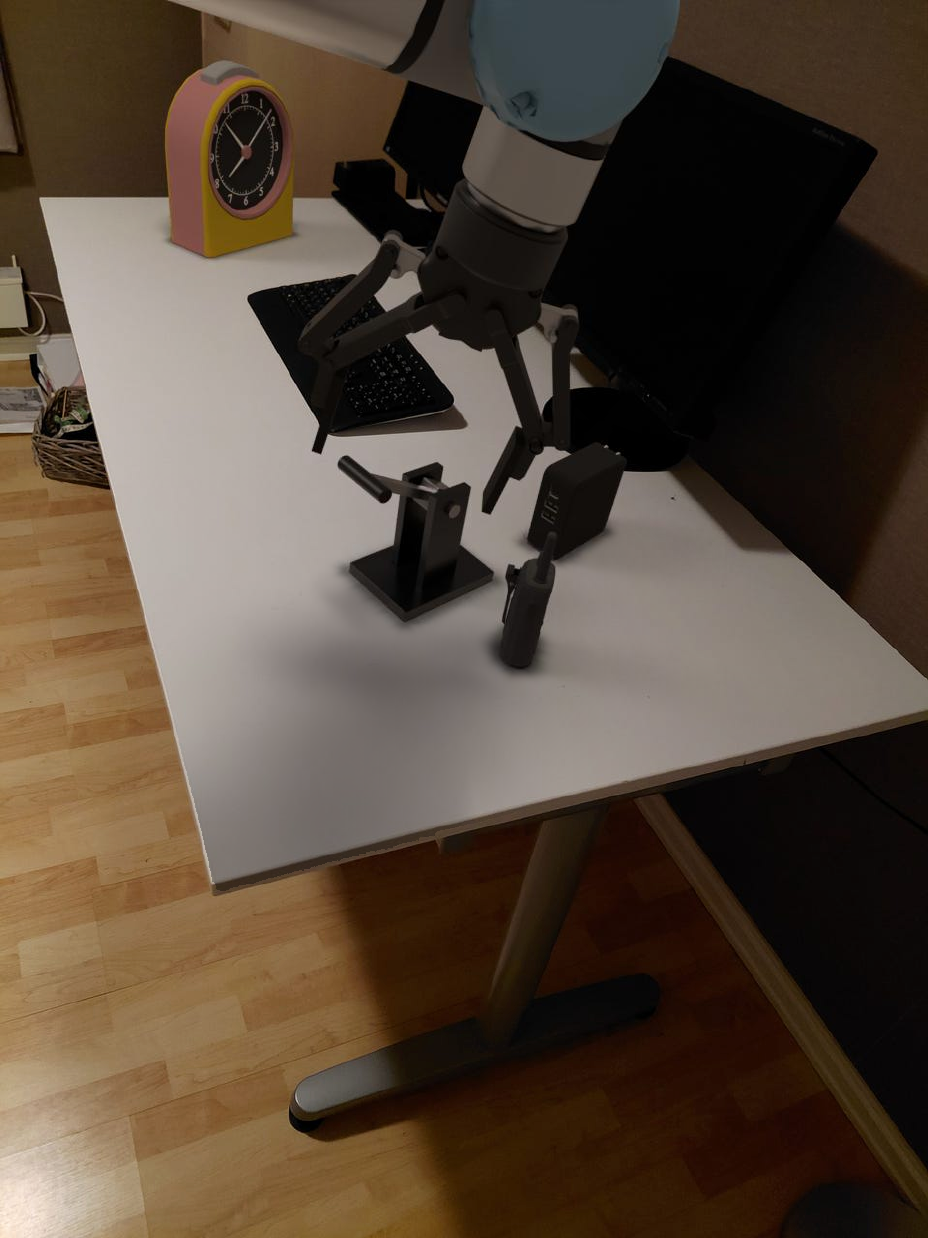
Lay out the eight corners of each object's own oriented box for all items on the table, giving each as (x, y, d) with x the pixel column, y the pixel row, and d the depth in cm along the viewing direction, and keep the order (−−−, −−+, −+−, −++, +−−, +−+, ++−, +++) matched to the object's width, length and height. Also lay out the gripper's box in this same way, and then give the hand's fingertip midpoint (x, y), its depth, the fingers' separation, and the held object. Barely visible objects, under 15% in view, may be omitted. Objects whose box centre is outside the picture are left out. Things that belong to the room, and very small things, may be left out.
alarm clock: (208, 258, 140) (200, 73, 123) (169, 240, 143) (156, 58, 126) (294, 234, 154) (297, 66, 137) (257, 219, 157) (255, 52, 140)
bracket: (404, 622, 82) (418, 523, 74) (348, 571, 86) (357, 473, 78) (492, 580, 89) (514, 486, 81) (437, 535, 93) (452, 442, 85)
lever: (373, 507, 71) (386, 482, 70) (332, 472, 74) (344, 448, 73) (457, 524, 81) (469, 502, 80) (417, 493, 84) (429, 471, 83)
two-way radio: (530, 674, 79) (567, 548, 69) (484, 663, 79) (515, 535, 69) (536, 635, 83) (573, 511, 73) (492, 625, 83) (523, 499, 74)
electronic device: (525, 542, 95) (544, 466, 88) (577, 512, 101) (599, 439, 94) (553, 561, 93) (575, 485, 86) (605, 530, 99) (629, 456, 92)
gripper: (688, 259, 56) (551, 499, 70) (328, 97, 51) (257, 391, 65) (705, 306, 51) (552, 556, 65) (304, 130, 46) (232, 443, 60)
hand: (404, 474), depth 65 cm, fingers open, 13 cm apart
